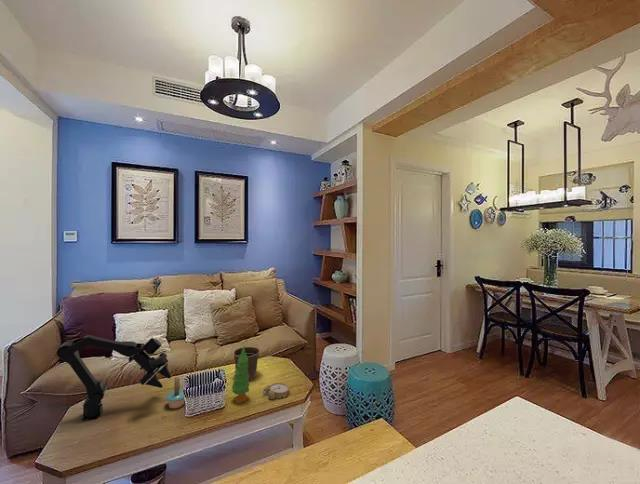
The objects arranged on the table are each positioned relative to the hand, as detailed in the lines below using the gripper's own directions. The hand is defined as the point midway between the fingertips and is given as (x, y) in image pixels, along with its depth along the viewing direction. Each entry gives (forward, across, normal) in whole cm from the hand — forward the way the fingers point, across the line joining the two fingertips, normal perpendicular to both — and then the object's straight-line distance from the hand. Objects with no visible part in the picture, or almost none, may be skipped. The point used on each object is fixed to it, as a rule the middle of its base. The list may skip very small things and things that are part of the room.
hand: (166, 382), depth 149 cm
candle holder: (+48, +9, -31) cm, 58 cm away
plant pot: (+34, +29, -17) cm, 48 cm away
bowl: (+12, 0, +4) cm, 13 cm away
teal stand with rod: (+9, 0, +1) cm, 9 cm away
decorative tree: (+35, +4, -18) cm, 39 cm away
